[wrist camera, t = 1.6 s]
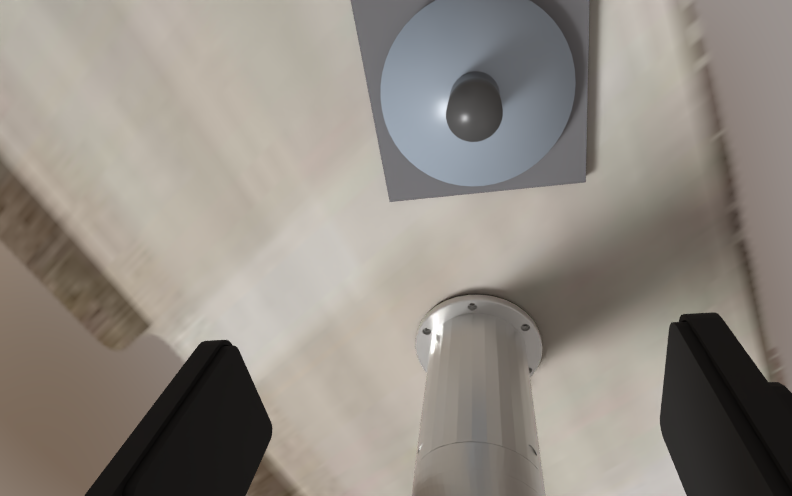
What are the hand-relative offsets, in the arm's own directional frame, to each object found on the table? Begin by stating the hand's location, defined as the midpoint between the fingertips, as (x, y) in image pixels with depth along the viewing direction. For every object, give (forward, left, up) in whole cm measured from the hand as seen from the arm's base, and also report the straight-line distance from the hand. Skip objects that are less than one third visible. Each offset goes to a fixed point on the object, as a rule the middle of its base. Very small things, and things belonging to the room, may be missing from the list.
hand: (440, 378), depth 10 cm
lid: (0, -1, -29) cm, 29 cm away
